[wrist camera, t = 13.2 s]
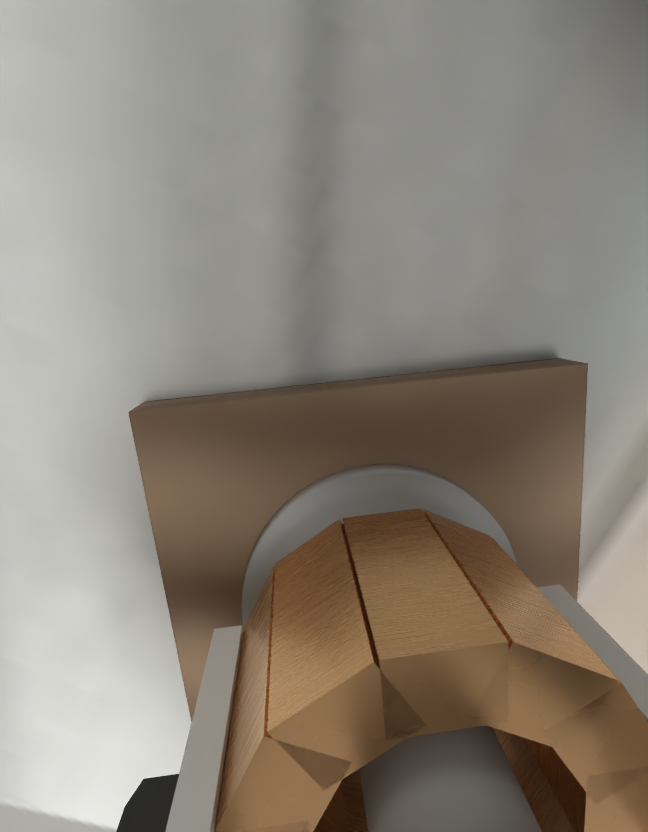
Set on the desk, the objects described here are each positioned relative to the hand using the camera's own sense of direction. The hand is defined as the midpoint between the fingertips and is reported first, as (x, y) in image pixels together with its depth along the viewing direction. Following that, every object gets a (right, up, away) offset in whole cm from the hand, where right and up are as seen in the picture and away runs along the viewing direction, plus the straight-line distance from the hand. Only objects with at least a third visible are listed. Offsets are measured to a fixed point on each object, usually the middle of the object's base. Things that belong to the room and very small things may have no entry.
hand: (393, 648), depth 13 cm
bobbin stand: (0, +1, +4) cm, 4 cm away
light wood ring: (0, 0, 0) cm, 0 cm away
